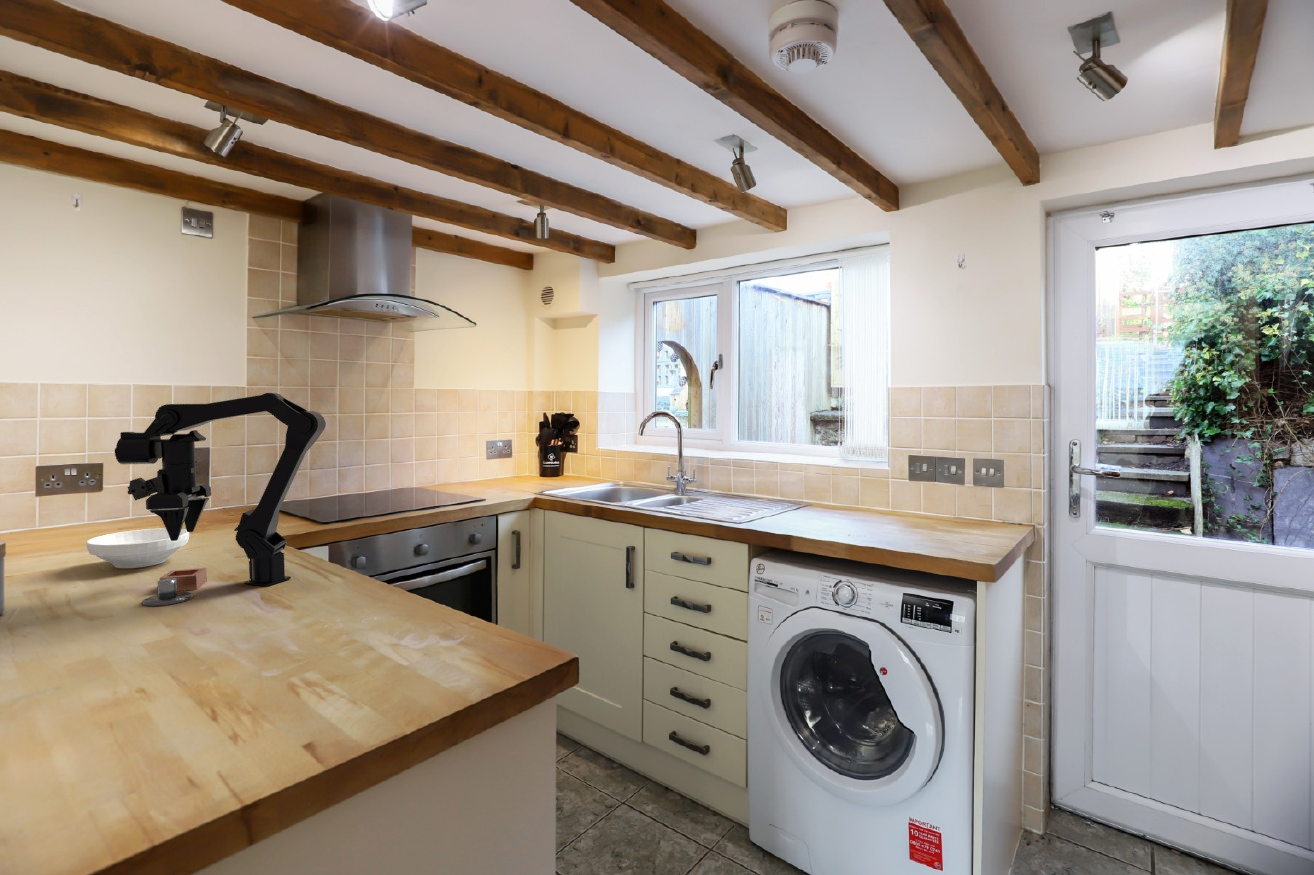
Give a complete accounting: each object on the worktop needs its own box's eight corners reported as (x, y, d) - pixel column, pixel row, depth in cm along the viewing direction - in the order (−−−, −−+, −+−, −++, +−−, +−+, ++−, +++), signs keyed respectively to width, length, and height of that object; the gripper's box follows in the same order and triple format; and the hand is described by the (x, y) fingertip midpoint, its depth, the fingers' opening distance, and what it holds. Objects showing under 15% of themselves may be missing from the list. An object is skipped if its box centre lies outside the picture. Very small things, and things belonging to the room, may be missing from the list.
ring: (206, 581, 144) (206, 567, 144) (196, 589, 138) (196, 575, 138) (172, 584, 142) (171, 570, 142) (160, 592, 136) (159, 578, 136)
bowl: (64, 574, 151) (62, 543, 150) (144, 554, 170) (142, 526, 170) (137, 577, 148) (135, 546, 147) (210, 557, 167) (208, 529, 166)
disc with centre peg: (202, 596, 134) (201, 576, 133) (162, 608, 126) (161, 587, 126) (172, 592, 136) (171, 573, 136) (132, 604, 128) (131, 584, 128)
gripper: (151, 460, 145) (155, 530, 146) (112, 469, 127) (116, 548, 128) (210, 458, 149) (213, 527, 150) (179, 467, 131) (183, 544, 132)
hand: (182, 536), depth 140 cm, fingers open, 9 cm apart
